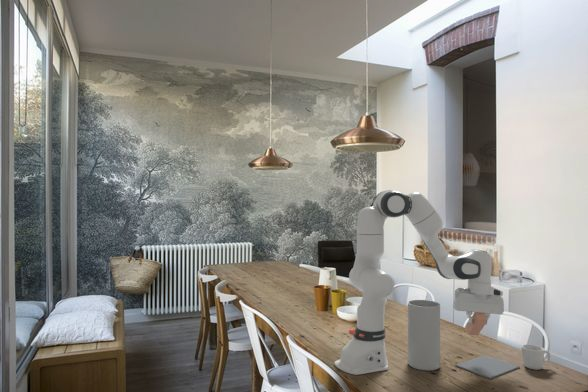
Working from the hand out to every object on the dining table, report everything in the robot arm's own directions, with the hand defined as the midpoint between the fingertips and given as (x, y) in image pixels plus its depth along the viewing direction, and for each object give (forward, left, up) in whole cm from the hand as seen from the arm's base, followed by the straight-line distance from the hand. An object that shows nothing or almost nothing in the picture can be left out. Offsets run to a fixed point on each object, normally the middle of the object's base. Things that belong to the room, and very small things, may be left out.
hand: (477, 323), depth 174 cm
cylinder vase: (-20, +11, -16) cm, 28 cm away
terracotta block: (+2, +4, -4) cm, 6 cm away
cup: (+16, -15, -16) cm, 27 cm away
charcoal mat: (0, -4, -16) cm, 17 cm away
